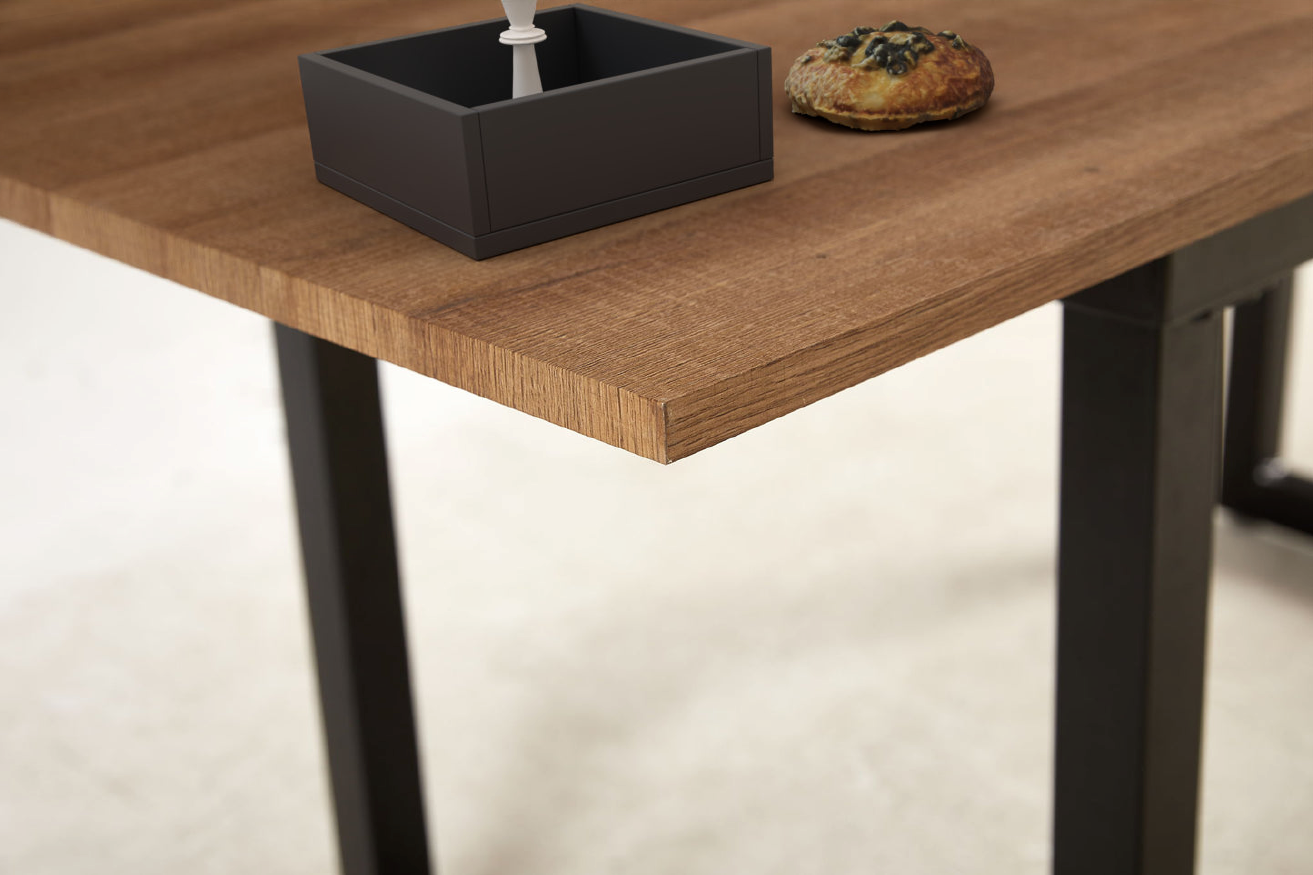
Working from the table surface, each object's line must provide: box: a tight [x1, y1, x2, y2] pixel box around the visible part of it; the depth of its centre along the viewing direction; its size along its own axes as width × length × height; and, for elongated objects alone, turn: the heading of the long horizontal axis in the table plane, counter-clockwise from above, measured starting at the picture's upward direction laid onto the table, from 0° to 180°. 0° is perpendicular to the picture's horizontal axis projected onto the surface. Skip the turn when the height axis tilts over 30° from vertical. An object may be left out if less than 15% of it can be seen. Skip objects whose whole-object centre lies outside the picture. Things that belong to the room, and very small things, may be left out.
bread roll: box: [783, 19, 996, 132], centre depth 80 cm, size 11×11×5 cm
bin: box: [297, 2, 775, 261], centre depth 71 cm, size 16×16×6 cm
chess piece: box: [499, 0, 547, 99], centre depth 70 cm, size 5×5×10 cm
